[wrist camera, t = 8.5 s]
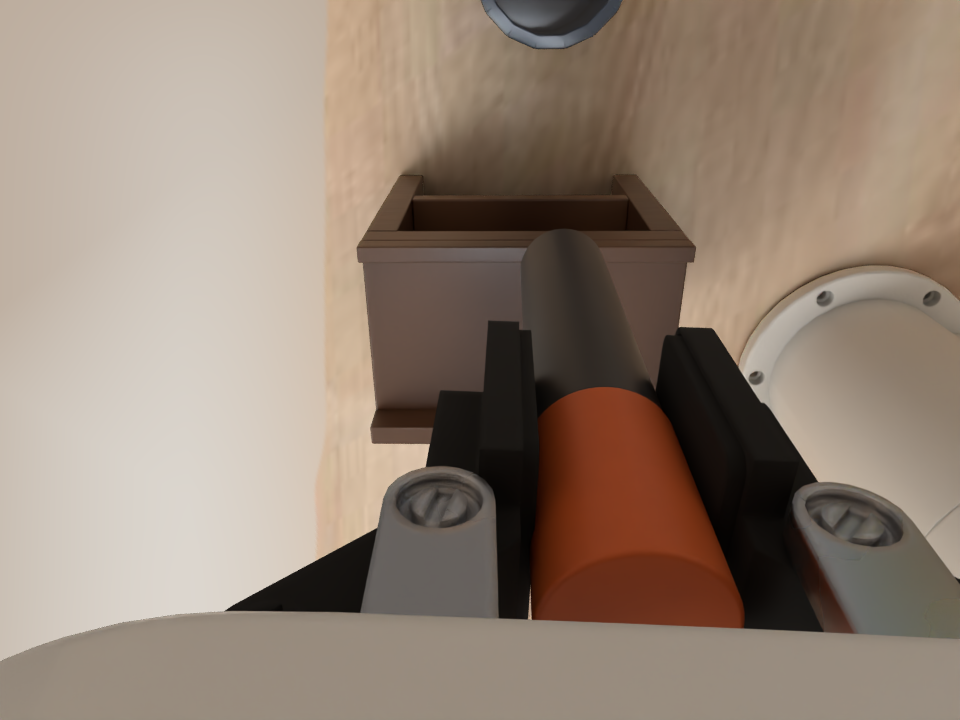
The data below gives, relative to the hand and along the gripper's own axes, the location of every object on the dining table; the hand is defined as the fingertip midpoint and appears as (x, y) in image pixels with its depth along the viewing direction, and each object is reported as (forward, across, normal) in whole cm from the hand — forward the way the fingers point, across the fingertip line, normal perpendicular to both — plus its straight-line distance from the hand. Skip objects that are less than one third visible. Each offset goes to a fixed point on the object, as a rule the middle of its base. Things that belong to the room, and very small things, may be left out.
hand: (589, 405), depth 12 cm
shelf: (+25, +1, +5) cm, 26 cm away
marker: (+7, 0, 0) cm, 7 cm away
